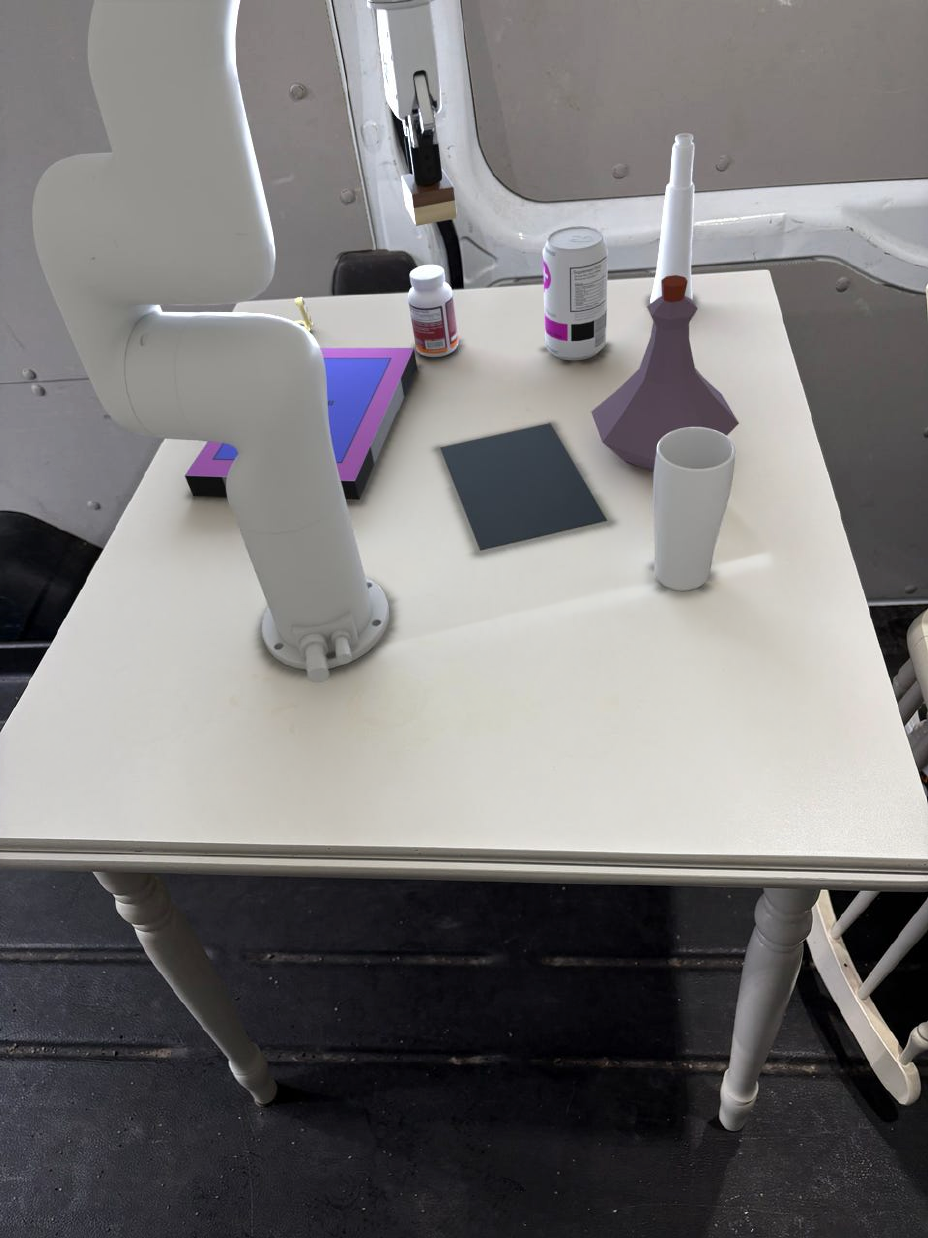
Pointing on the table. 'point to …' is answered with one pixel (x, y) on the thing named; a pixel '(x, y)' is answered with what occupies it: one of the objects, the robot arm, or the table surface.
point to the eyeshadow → (304, 314)
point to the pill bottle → (432, 312)
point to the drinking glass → (689, 503)
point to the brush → (428, 197)
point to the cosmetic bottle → (677, 218)
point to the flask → (662, 387)
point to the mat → (519, 486)
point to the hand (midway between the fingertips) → (425, 175)
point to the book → (336, 417)
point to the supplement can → (575, 292)
